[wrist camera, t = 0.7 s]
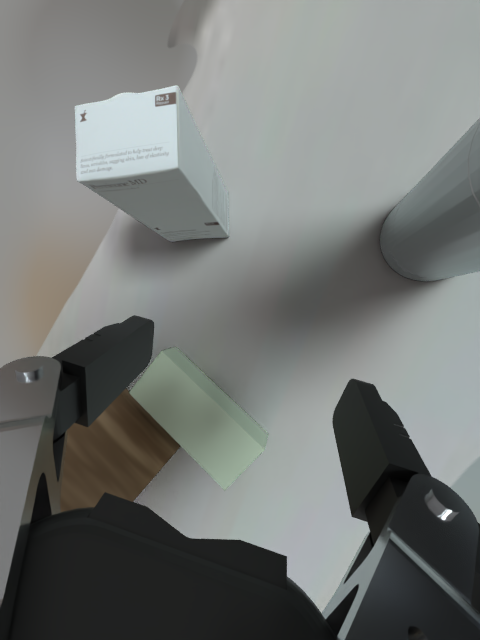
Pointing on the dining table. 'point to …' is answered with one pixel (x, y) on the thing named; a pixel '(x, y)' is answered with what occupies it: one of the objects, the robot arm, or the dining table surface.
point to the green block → (199, 416)
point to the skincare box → (152, 163)
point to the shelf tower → (114, 454)
